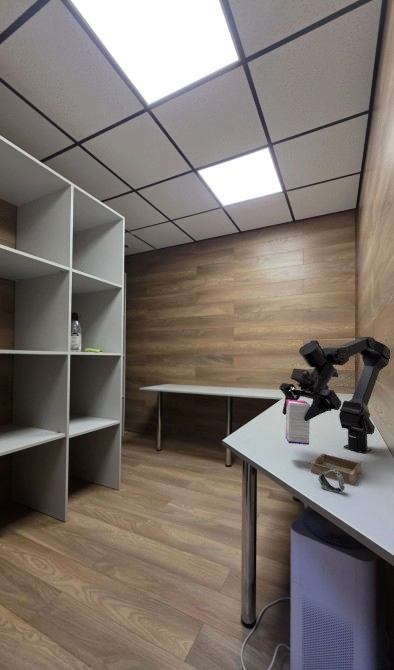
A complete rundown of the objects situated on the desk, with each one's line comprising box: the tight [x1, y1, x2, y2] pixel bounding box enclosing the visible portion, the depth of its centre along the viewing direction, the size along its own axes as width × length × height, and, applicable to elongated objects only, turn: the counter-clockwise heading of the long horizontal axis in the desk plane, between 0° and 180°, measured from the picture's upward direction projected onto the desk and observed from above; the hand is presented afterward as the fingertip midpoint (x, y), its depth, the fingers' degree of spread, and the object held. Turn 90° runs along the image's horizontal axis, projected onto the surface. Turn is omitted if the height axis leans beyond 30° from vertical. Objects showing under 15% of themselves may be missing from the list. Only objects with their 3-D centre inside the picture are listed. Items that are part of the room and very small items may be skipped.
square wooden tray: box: [310, 453, 362, 486], centre depth 72 cm, size 10×10×2 cm
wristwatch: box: [317, 469, 346, 494], centre depth 63 cm, size 3×5×5 cm
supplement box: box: [285, 400, 311, 446], centre depth 79 cm, size 6×6×12 cm
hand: (293, 416), depth 78 cm, fingers closed on supplement box, 8 cm apart
